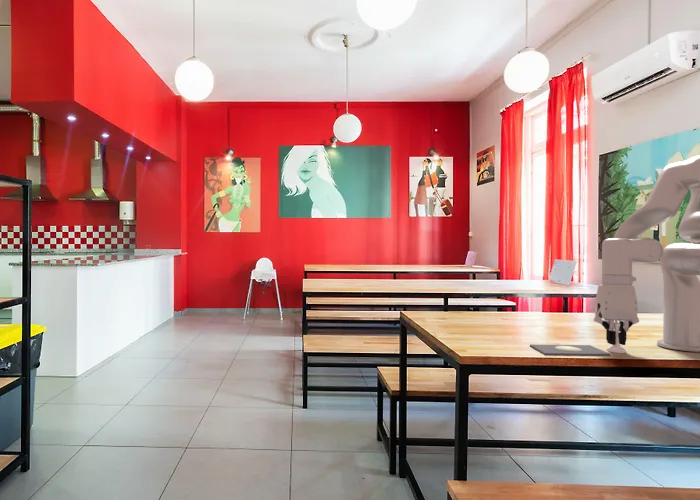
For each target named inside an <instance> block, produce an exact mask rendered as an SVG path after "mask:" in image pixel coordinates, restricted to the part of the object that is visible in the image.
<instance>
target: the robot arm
mask: <svg viewBox="0 0 700 500" xmlns="http://www.w3.org/2000/svg"><path fill="white" fill-rule="evenodd" d="M689 191H690V199H689V202H688V204H687V207H686V210H684V213H683V216H682V218H681V221H680V222H679V223H680V224H679V226H678V230H677V232H678V235H679V237H680V239H682V240H684V241H686V242H675V243H671V244H668V245H667V246H665V247H664V245H662V244H661V242H660V241H659V240H657V239H655V238H652V237H641V236H642V235H643V234H644V233H645V232H647V231H648V230H650V229H652V228H653V227H655V226H658V225H660V224H663V223H665V222H667V221H669V220H671V219H672V218H674V217H675V216H676V215H677V214H678V212H679V210H680V208H681V205H682V204H683V202H684V200H685V197H686V195H687V194H688V192H689ZM656 262H659V263H660V268H661V273H662V281H663V311H662V312H663V315H662V317H663V323H662V324H663V327H662V328H663V331H662V332H663V333H662V335H663V337H662V339H658V340H657V341H656V344H657V346H659V347H661V348H666V349H670V350H676V351H683V352H692V353H693V352H696V353H699V352H700V279H699V277H698V276H700V155H696V156H692V157H690V158H688V159H686V160H682V161H677V162H673V163H670V164H668V165H666V166H665V167H663V169H662V170H661V171H660V173H659V175H658V177H657V179H656V181H655V183H654V185H653V187H652V189H651V191H650V193H649V195H648V196H647V198H646V201H645V202H644V204H643V205H642V206H641V207H639V208H638V209H636V210H635V211H634V212H633V213H632V214H631V215H630V216H629V217H627V218H626V219H625V220H624V221H623V222H622V223H621V224H620V226H619V227H618V229H617V230H616V231H615V234H614V235H613V237H612V238H605V239H604V240H602V243H601V284H598V286H597V290H596V291H597V292H596V297H595V304H594V318H593V321H594V322H595V323H596V324H597V323H598V324H600V325H601V326H602V327H604V330H606V331H605V332H606V336H605V339H606V342H607V344H610V345H611V346H612V345H615V344H616V332H615V331H614V323H615V320H617V321H618V323H620V327H619V329H618V330H619V331H620V332H621V333H618V337H619V344H620V345H622V346H625V345H626V343H627V342H626V341H627V332H628V331H629V329H630V328H631V327H632V326H633V325H636V324H638V323H640V319H639V316H638V300H637V298H638V297H637V292H636V288H635V286H634V285H633V282H636V281H637V278H636V276H633V264H643V265H644V264H645V265H646V264H647V265H648V264H653V263H656ZM619 320H620V321H619Z"/></svg>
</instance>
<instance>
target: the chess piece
mask: <svg viewBox="0 0 700 500" xmlns="http://www.w3.org/2000/svg"><path fill="white" fill-rule="evenodd" d="M619 321H620V320H614V331H615V332H616V344H615V345H612V344H611V345H610V346H607V347H606V352H610V353H615V354H617V353H618V354H625V353H627V349H626V348H624V347H623V346H621V345H622V344H619V337H618V333H621V332H620V331H619V330H618V329H619V327H620V323H619Z"/></svg>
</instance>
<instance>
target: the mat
mask: <svg viewBox="0 0 700 500" xmlns="http://www.w3.org/2000/svg"><path fill="white" fill-rule="evenodd" d="M529 347H530V348H532V349H534V350H535V351H537V352H539V353H541V354H542V355H544V356H591V357H592V356H593V357H594V356H595V357H596V356H597V357H600V356H601V357H607V356H608V357H609V356H610V357H611V353H609V352H608V351H604V350H602V349H600V348H598V347H595V346H593V345H591V344H530V343H529Z"/></svg>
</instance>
